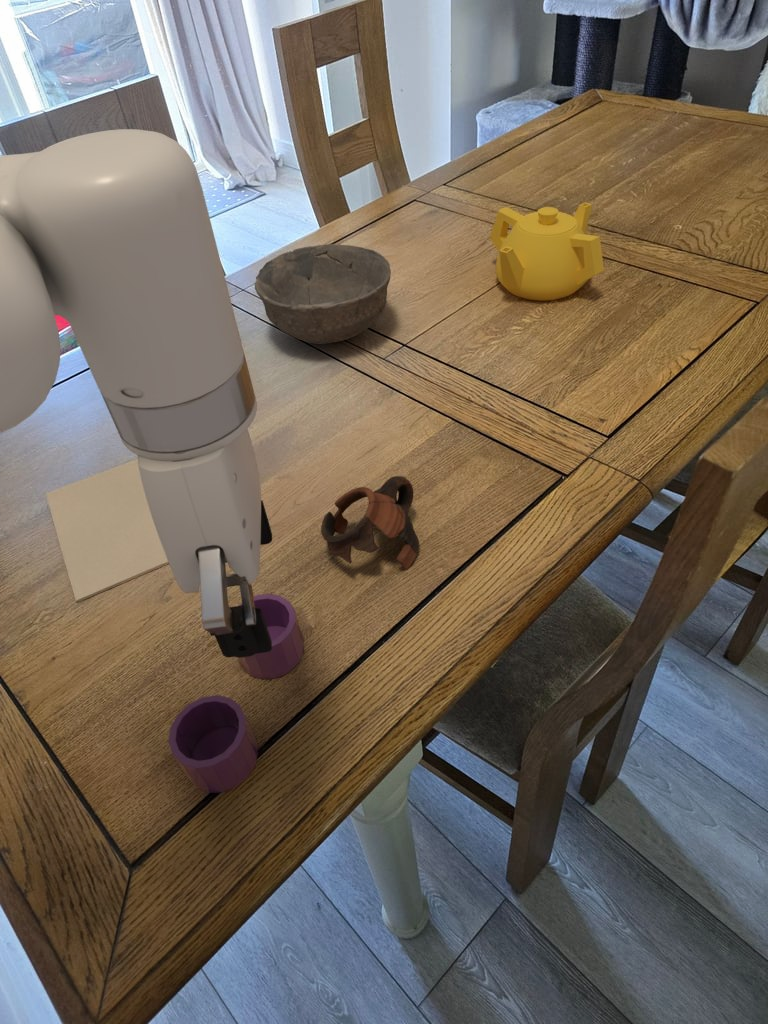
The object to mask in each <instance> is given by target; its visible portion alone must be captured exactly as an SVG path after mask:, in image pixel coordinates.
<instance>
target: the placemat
mask: <svg viewBox="0 0 768 1024" xmlns="http://www.w3.org/2000/svg"><path fill="white" fill-rule="evenodd" d="M45 496H46V500H47V504H48V508H49V511H50V515H51V518H52V521H53V525H54V530H55V533H56V536H57V540H58V543H59V547H60V550H61V554H62V558H63V561H64V564H65V568H66V572H67V575H68V579H69V582H70V586H71V589H72V593H73V596H74V600H75V603H76V604H77V603H80V602H82V601H84V600H86V599H87V600H88V599H89V598H91V597H94V596H96V595H99V594H101V593H103V592H106V591H108V590H111V589H113V588H114V587H117V586H119V585H122V584H124V583H126V582H129V581H132V580H133V579H136V578H138V577H141V576H143V575H146V574H148V573H150V572H153V571H155V570H157V569H159V568H161V567H162V568H163V567H164V566H167V565H169V562H168V560H167V557H166V554H165V552H164V549H163V546H162V544H161V541H160V538H159V536H158V533H157V530H156V527H155V524H154V521H153V518H152V515H151V512H150V509H149V506H148V503H147V499H146V496H145V492H144V488H143V484H142V480H141V476H140V471H139V466H138V458H136V459H133V460H130V461H128V462H125V463H122V464H120V465H117V466H115V467H112V468H109V469H106V470H103V471H101V472H98V473H96V474H93V475H91V476H88V477H85V478H83V479H80V480H77V481H75V482H71V483H69V484H67V485H64V486H61V487H59V488H56V489H53V490H51V491H48V492H46V493H45Z"/></svg>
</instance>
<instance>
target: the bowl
mask: <svg viewBox="0 0 768 1024" xmlns="http://www.w3.org/2000/svg"><path fill="white" fill-rule="evenodd" d="M391 273H392V270H391V264H390V262H389V261H388V259H386V258H385V257H384V256H383V255H382V254H381V253H380V252H378V251H376V250H373V249H370V248H365V247H363V246H356V245H348V244H347V245H345V244H334V243H329V244H319V245H312V246H311V245H309V246H304V247H300V248H295V249H293V250H292V251H286V252H283V253H281V254H279V255H277V256H275V257H274V258H272V259H271V260H269V261H267V262H266V263H265V264H264V265H263V266H262V268H260V269H259V271H258V274H257V275H256V276H255V279H256V280H255V282H254V289H255V293H256V294H257V296H258V297H259V298H260V300H261V301H262V304H263V306H264V311H265V314H266V315H265V316H266V317H267V319H268V320H269V321H270V322H271V324H272V325H274V326H275V327H276V328H278V329H279V330H280V331H281V332H282V333H284V334H287V335H288V336H290V337H293V338H295V339H297V340H300V341H303V342H306V343H309V344H316V345H324V344H325V345H326V344H331V343H337V342H342V341H347V340H349V339H352V338H353V337H357V336H359V335H361V334H363V333H364V332H365V331H366V330H368V329H369V328H370V327H371V326H372V325H373V324H374V323H375V322H376V321H377V320H378V319H379V318H380V316H381V315H382V314H383V312H384V310H385V309H386V306H387V300H388V299H387V297H388V287H389V283H390V281H391Z"/></svg>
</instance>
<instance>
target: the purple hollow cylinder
mask: <svg viewBox="0 0 768 1024" xmlns="http://www.w3.org/2000/svg"><path fill="white" fill-rule="evenodd" d="M253 598H254V604H255V608H258V609H261V611H262V614H263V617H264V620H265V623H266V626H267V629H268V632H269V635H270V638H271V641H272V650H271V651H269V652H265V653H258V654H254V655H253V656H249V657H242V658H239V657H237V658H238V661H239V662H240V665H241V667H242V669H243V670H244V671H245V673H247V674H249V675H250V676H251V677H253V678H257V679H263V680H269V679H270V680H272V679H276V678H280V677H282V676H284V675H287V674H288V673H290V672H291V671H292V670H293V669H294V668H296V666H297V665H298V664H299V663H300V661H301V659H302V657H303V654H304V649H305V645H304V644H305V643H304V637H303V634H302V631H301V627H300V624H299V620H298V616H297V613H296V609H295V608H294V606H293V605H292V603H291V602H290V601H289V600H287V599H286V598H285V597H283V596H281V595H278V594H272V593H264V594H255V595H253ZM237 606H242V602H240V604H238V605H237Z"/></svg>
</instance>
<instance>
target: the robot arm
mask: <svg viewBox="0 0 768 1024" xmlns="http://www.w3.org/2000/svg"><path fill="white" fill-rule="evenodd" d="M56 316H59V317H61V318H63V319H64V320H66V321H67V322H68V324H69V325H70V328H71V330H72V333H73V334H74V337H75V339H76V341H77V344H78V346H79V348H80V350H81V352H82V355H83V357H84V359H85V362H86V364H87V366H88V368H89V370H90V372H91V375H92V377H93V379H94V382H95V384H96V386H97V389H98V390H99V392H100V395H101V397H102V399H103V401H104V403H105V406H106V408H107V410H108V412H109V414H110V417H111V419H112V421H113V423H114V426H115V428H116V430H117V433H118V435H119V438H120V439H121V442H122V444H123V445H124V446H125V447H126V449H128V451H130V452H132V453H133V454H134V455H136V456H137V459H138V466H139V471H140V476H141V480H142V484H143V488H144V492H145V496H146V499H147V503H148V506H149V509H150V512H151V515H152V518H153V521H154V524H155V527H156V530H157V533H158V536H159V538H160V541H161V544H162V546H163V549H164V552H165V554H166V557H167V560H168V562H169V564H168V565H169V567H170V570H171V572H172V575H173V577H174V580H175V582H176V585H177V587H178V588H179V589H180V590H181V591H182V592H183V593H184V594H194V593H196V594H197V593H199V590H200V607H201V609H200V610H201V621H202V622H201V623H202V627H203V629H204V631H205V632H208V633H209V634H210V636H211V637H213V636H214V638H215V641H216V643H217V644H218V647H219V649H220V651H221V653H222V656H223V657H225V658H238V657H239V658H242V657H249V656H253V655H254V654H258V653H265V652H269V651H271V650H272V641H271V638H270V635H269V632H268V629H267V626H266V623H265V620H264V617H263V614H262V611H261V609H258V608H255V604H254V598H253V596H254V593H253V585H252V584H253V583H254V582H255V581H256V580H257V579H258V577H259V575H260V567H261V546H264V545H269V544H271V543H272V542H273V532H272V529H271V525H270V522H269V518H268V515H267V512H266V511H267V510H266V507H265V504H264V501H263V500H262V486H261V485H262V484H261V478H260V472H259V466H258V462H257V458H256V454H255V453H256V452H255V450H254V446H253V443H252V440H251V439H252V438H251V436H250V432H249V427H250V426H251V424H252V423H253V422H254V420H255V417H256V415H257V411H258V402H257V397H256V394H255V390H254V387H253V382H252V379H251V378H252V377H251V374H250V371H249V367H248V362H247V359H246V358H247V357H246V355H245V351H244V348H243V344H242V339H241V336H240V331H239V327H238V324H237V319H236V316H235V312H234V308H233V303H232V300H231V297H230V293H229V289H228V286H227V281H226V277H225V273H224V269H223V265H222V260H221V257H220V253H219V249H218V246H217V242H216V237H215V233H214V230H213V225H212V222H211V218H210V213H209V210H208V206H207V202H206V197H205V194H204V190H203V186H202V184H201V180H200V177H199V173H198V170H197V168H196V165H195V163H194V161H193V158H192V157H191V156H190V154H189V152H187V150H186V149H185V147H183V146H182V145H181V144H180V143H179V142H178V141H177V140H176V139H173V138H171V137H170V136H167V135H166V134H164V133H161V132H158V131H151V130H147V129H146V130H145V129H135V128H132V129H131V128H123V129H120V128H119V129H110V130H109V129H108V130H102V131H96V132H90V133H84V134H81V135H77V136H73V137H70V138H67V139H64V140H62V141H59V142H56V143H54V144H52V145H50V146H48V147H46V148H44V149H42V150H41V151H34V152H26V153H14V154H3V155H2V154H1V155H0V434H2V433H4V432H6V431H10V430H11V429H13V428H15V427H17V426H18V425H20V424H21V423H23V422H24V421H25V420H27V419H28V418H29V417H31V416H32V415H33V414H34V413H35V412H36V411H37V410H38V409H39V408H40V407H41V406H42V404H44V402H45V401H46V399H47V398H48V396H49V394H50V392H51V390H52V389H53V386H54V384H55V382H56V380H57V376H58V371H59V368H60V363H61V338H60V333H59V328H58V323H57V320H56ZM226 564H227V565H228V567H229V569H230V570H231V571H233V572H234V573H229V574H228V573H227V567H226ZM238 586H239V591H240V593H239V594H240V599H241V603H242V606H238V605H235V606H230V604H229V598H228V588H230V587H238ZM239 658H238V659H239Z"/></svg>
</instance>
